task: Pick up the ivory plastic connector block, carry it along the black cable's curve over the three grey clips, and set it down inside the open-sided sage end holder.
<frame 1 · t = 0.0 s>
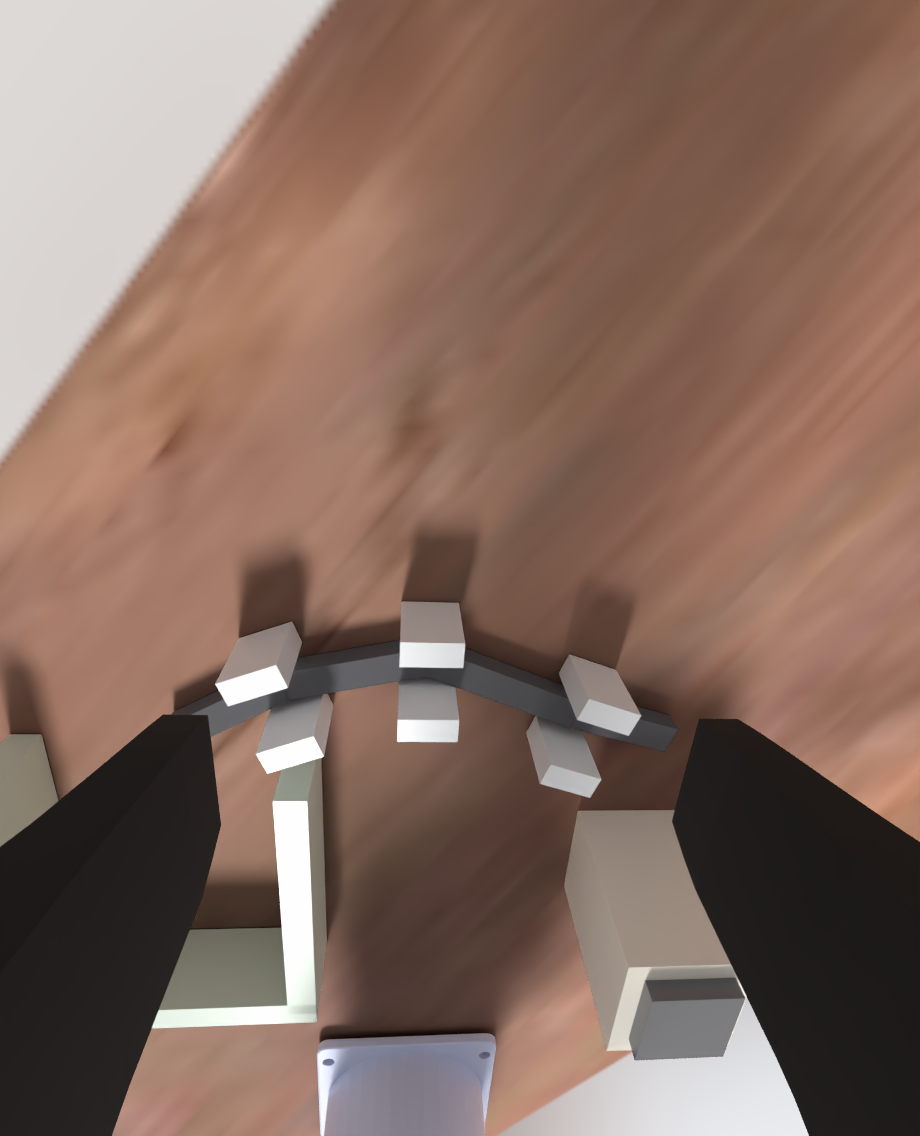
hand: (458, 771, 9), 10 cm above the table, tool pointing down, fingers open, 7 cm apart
cable: (425, 700, 21), resting in clips
holder: (185, 845, 23), on the table
clips: (425, 700, 21), on the table
connector: (620, 848, 24), on the table
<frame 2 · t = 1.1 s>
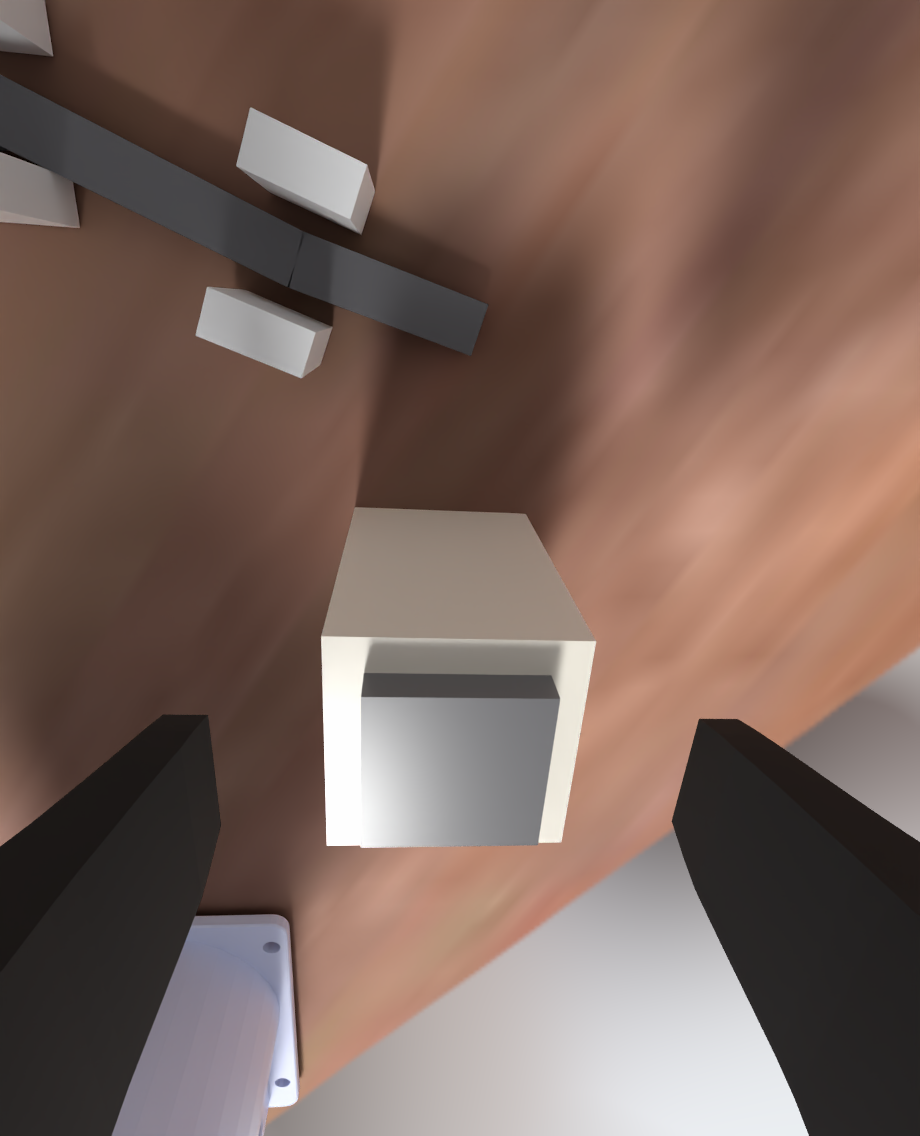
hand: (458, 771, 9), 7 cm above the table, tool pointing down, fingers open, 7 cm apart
cable: (32, 242, 12), resting in clips
clips: (32, 242, 12), on the table
connector: (437, 587, 15), on the table
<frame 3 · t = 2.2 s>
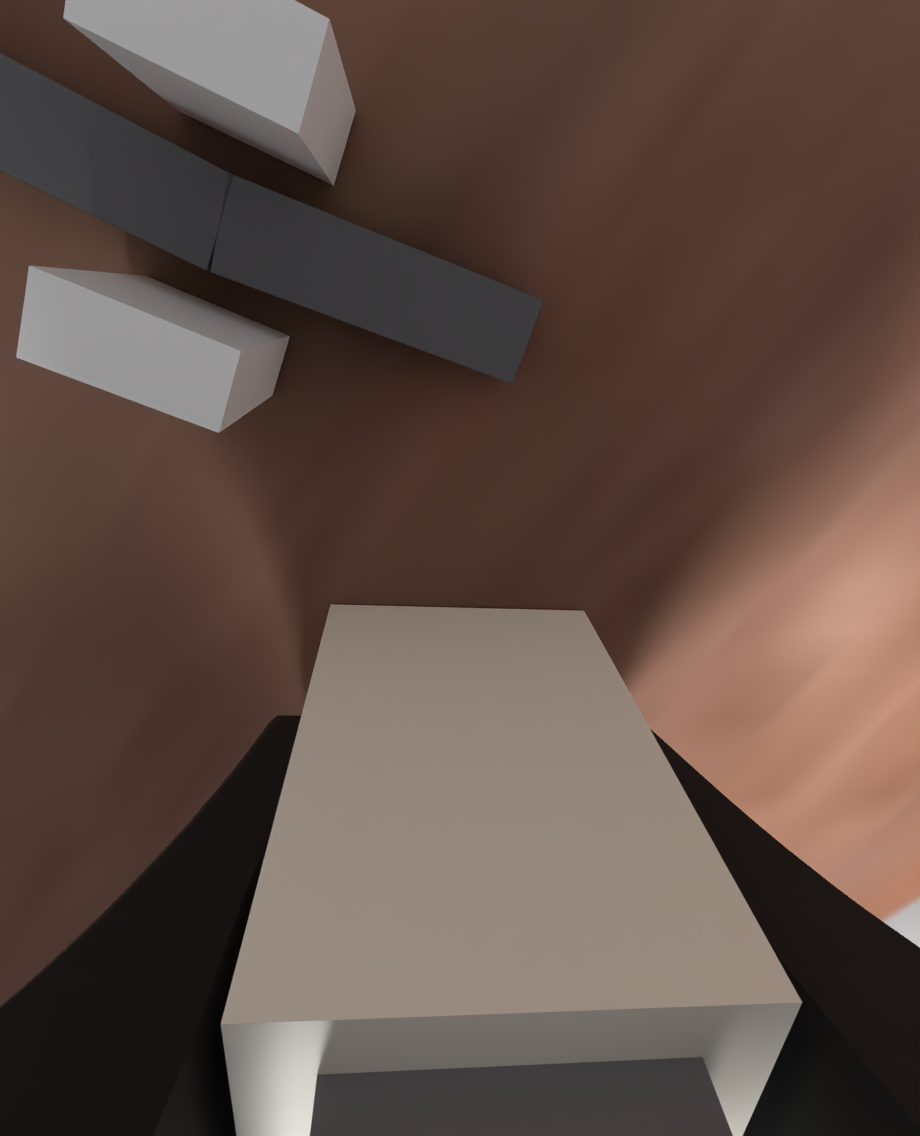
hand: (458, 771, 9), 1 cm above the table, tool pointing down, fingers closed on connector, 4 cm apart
connector: (452, 712, 10), on the table, touching gripper
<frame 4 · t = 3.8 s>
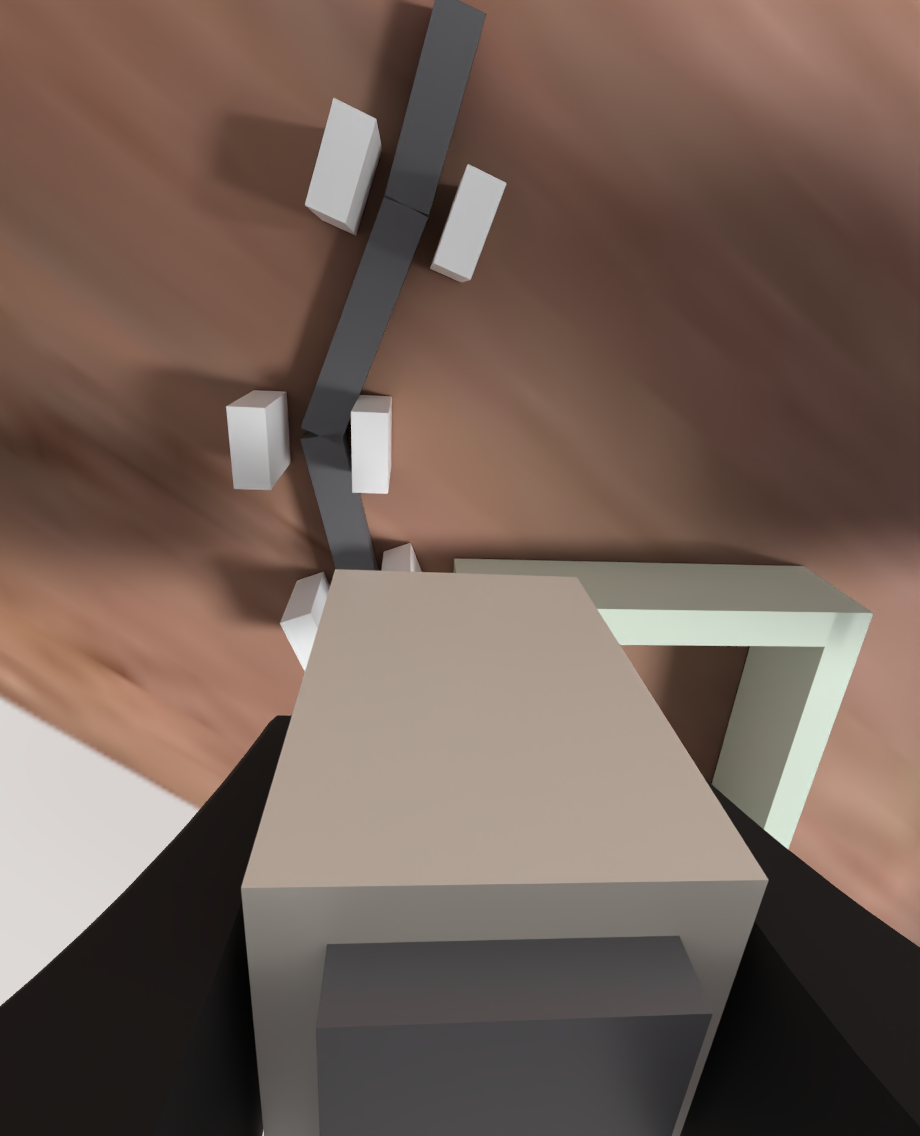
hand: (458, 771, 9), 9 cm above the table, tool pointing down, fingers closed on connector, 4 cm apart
cable: (403, 432, 16), resting in clips
holder: (600, 704, 20), on the table
clips: (403, 432, 16), on the table
connector: (450, 677, 11), point 7 cm above the table, touching gripper
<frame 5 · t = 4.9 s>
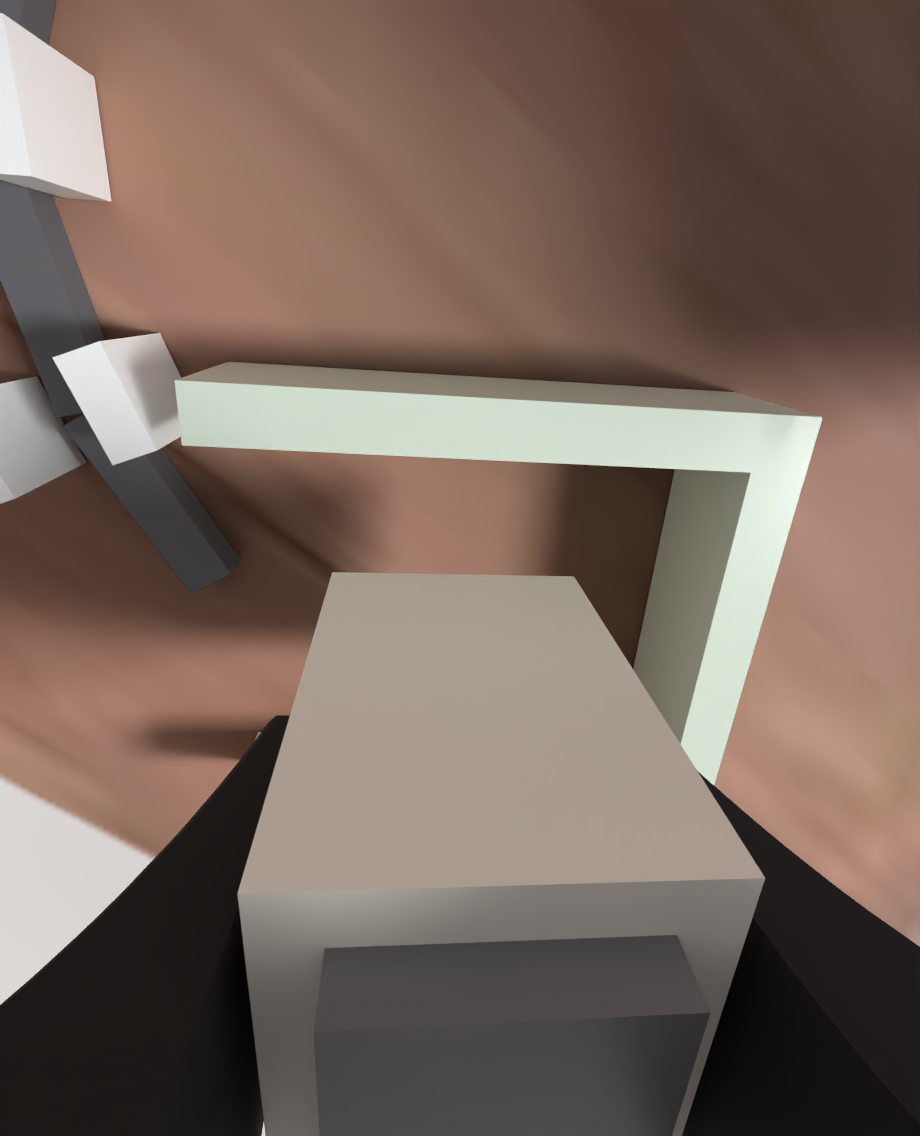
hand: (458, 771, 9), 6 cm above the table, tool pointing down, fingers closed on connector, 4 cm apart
cable: (121, 143, 11), resting in clips
holder: (463, 596, 15), on the table
clips: (121, 143, 11), on the table
connector: (449, 678, 11), point 4 cm above the table, touching gripper
when the fingers open (3 cm above the table, at t = 5.7 s): connector drops 1 cm, on the table.
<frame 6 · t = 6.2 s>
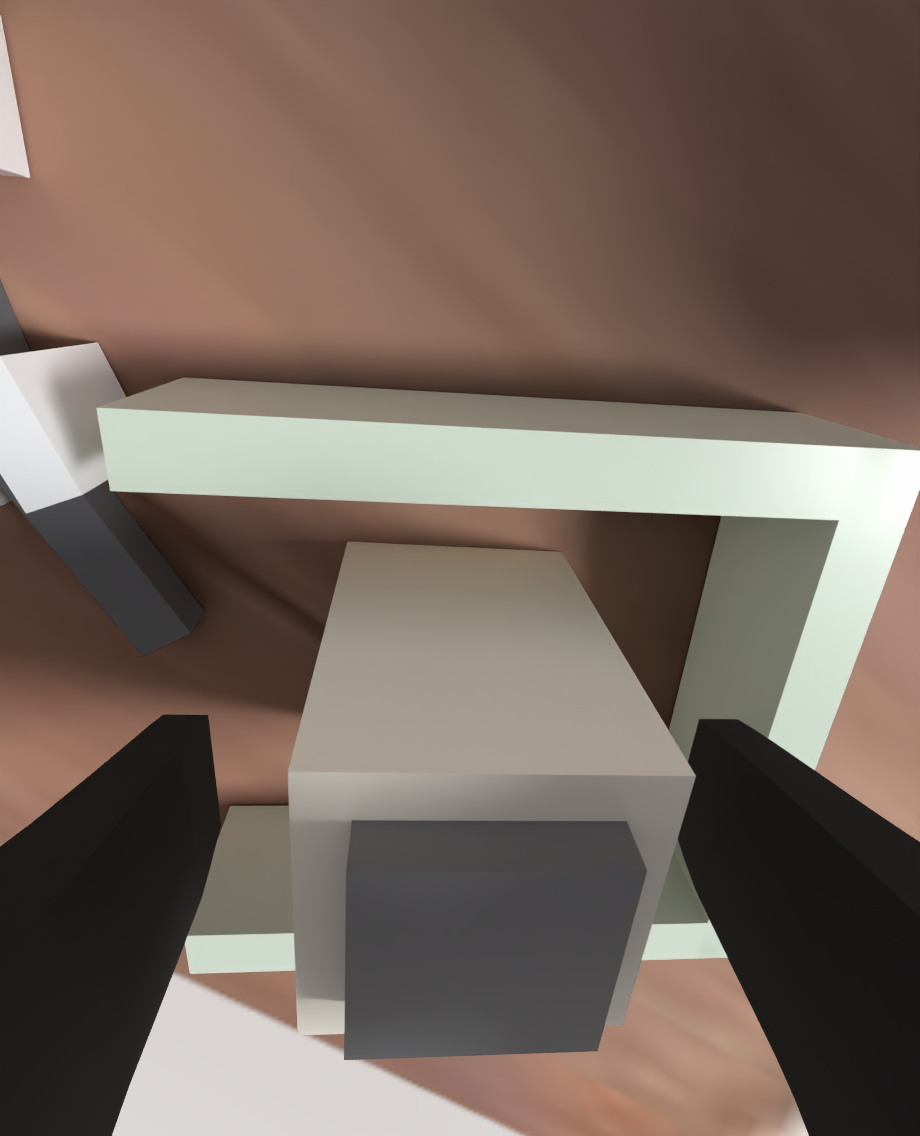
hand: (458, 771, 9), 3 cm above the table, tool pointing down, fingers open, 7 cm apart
cable: (39, 102, 8), resting in clips
holder: (470, 651, 12), on the table
clips: (39, 102, 8), on the table
connector: (448, 639, 12), on the table
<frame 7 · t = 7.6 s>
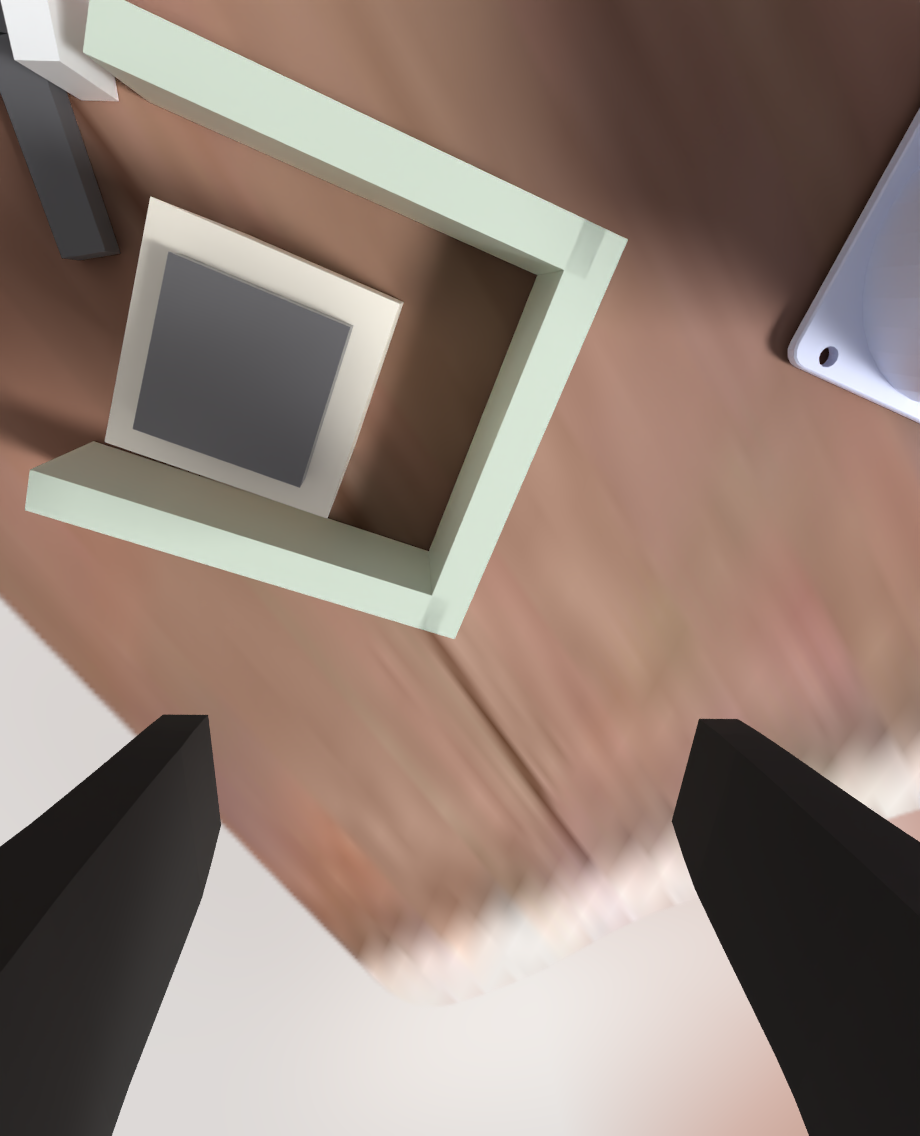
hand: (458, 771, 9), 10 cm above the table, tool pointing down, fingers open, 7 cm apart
holder: (319, 363, 16), on the table
connector: (304, 348, 16), on the table
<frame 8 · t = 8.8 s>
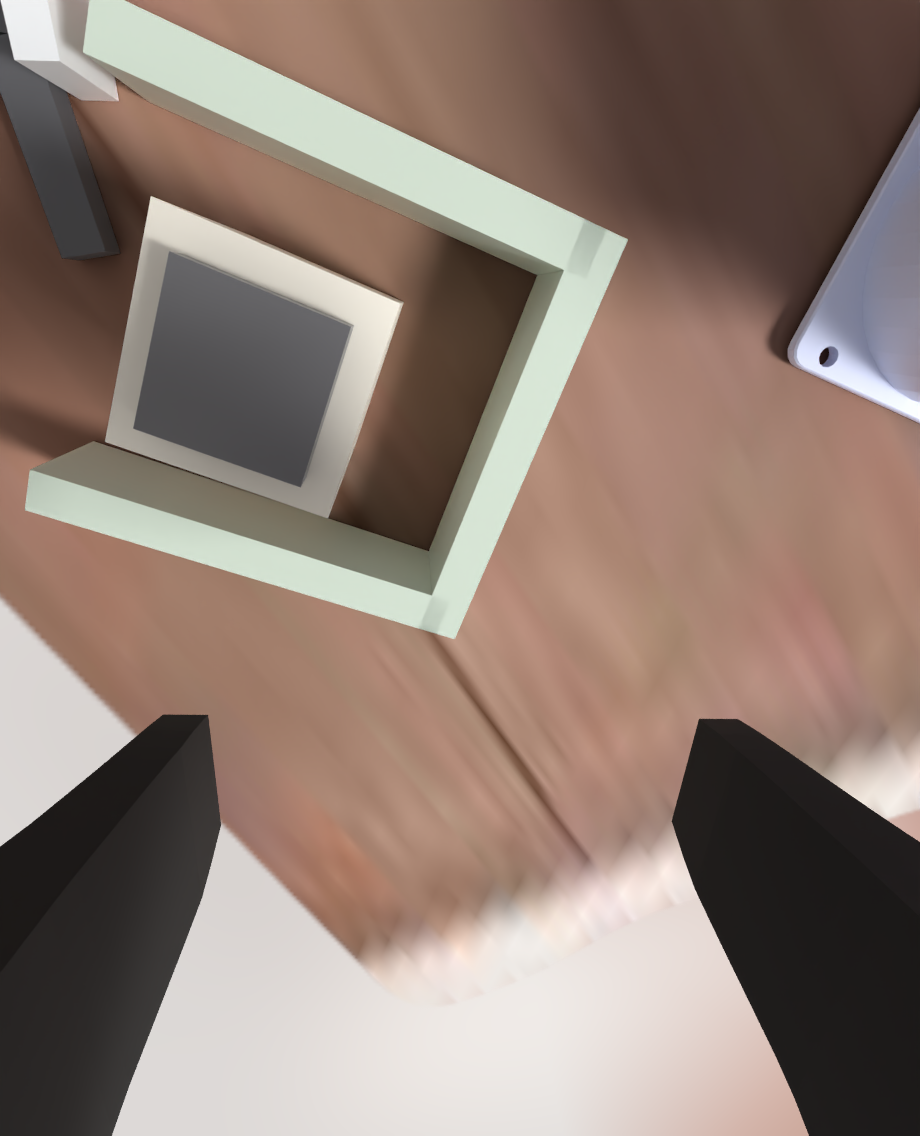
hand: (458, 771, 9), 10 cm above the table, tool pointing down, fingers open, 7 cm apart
holder: (319, 363, 16), on the table
connector: (304, 348, 16), on the table
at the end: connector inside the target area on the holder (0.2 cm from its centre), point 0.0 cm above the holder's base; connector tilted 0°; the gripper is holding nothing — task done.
